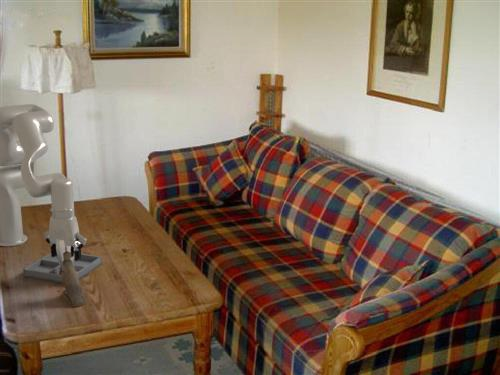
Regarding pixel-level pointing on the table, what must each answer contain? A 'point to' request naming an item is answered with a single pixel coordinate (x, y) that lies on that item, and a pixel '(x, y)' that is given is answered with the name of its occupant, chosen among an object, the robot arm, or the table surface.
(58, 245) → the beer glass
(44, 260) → the gray compartment tray
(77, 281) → the brown carved statuette
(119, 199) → the table surface
